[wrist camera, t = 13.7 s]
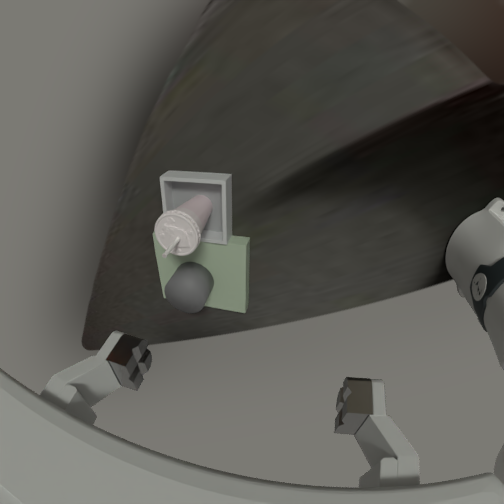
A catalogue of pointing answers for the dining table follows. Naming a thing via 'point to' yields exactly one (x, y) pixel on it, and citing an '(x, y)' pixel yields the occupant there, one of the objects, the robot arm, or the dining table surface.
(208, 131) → the dining table surface
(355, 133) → the dining table surface
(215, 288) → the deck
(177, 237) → the smoothie
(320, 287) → the dining table surface
